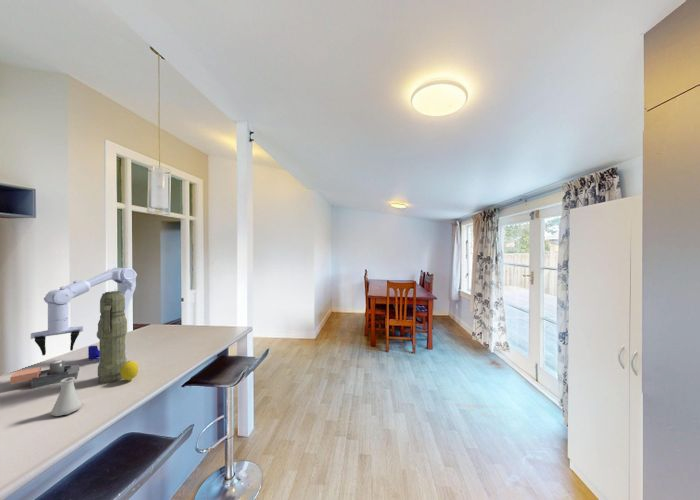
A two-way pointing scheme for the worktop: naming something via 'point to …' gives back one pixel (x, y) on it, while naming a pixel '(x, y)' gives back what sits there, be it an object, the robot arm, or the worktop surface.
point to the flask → (67, 399)
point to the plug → (56, 367)
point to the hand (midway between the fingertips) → (58, 352)
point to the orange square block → (25, 375)
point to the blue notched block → (93, 352)
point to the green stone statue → (111, 336)
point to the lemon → (129, 370)
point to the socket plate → (54, 376)
